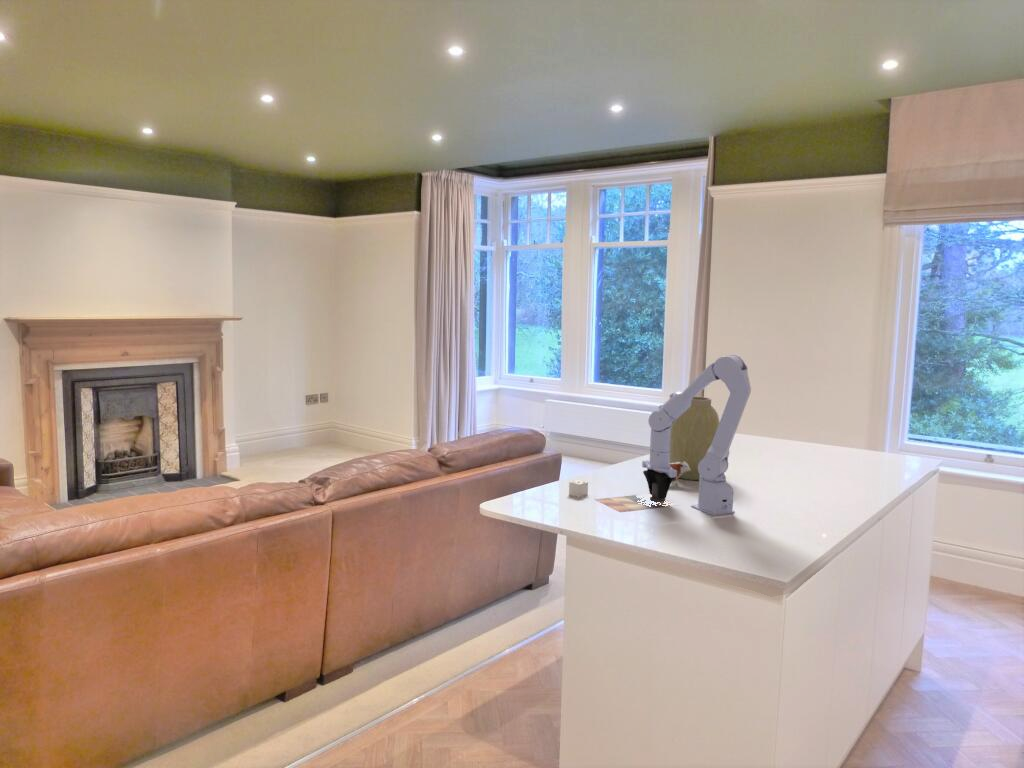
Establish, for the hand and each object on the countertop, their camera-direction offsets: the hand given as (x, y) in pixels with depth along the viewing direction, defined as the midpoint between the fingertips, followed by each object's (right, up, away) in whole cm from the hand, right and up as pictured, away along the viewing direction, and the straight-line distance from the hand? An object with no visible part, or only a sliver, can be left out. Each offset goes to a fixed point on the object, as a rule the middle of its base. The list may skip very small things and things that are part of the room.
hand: (657, 496), depth 209 cm
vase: (+19, +1, +34) cm, 39 cm away
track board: (-7, -2, -3) cm, 8 cm away
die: (-23, -1, +5) cm, 24 cm away
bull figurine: (+8, 0, +20) cm, 21 cm away
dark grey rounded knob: (0, -1, 0) cm, 1 cm away
